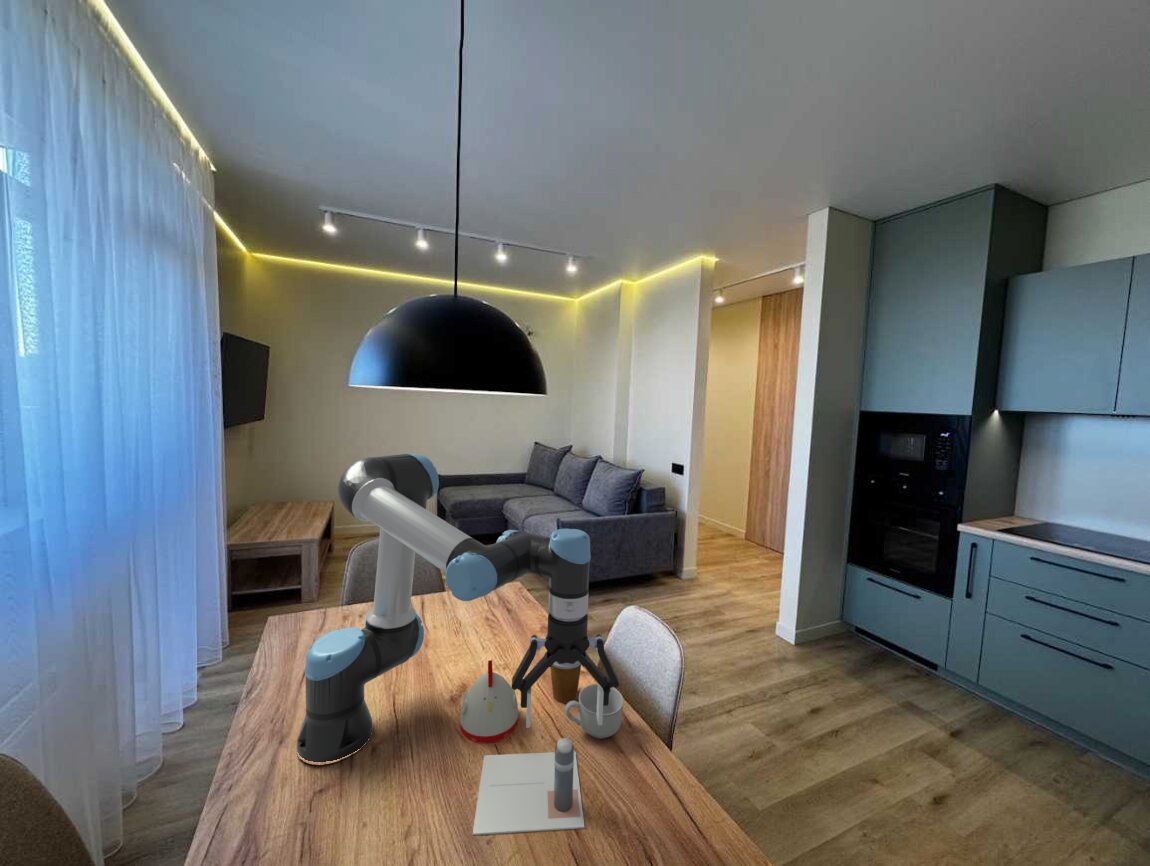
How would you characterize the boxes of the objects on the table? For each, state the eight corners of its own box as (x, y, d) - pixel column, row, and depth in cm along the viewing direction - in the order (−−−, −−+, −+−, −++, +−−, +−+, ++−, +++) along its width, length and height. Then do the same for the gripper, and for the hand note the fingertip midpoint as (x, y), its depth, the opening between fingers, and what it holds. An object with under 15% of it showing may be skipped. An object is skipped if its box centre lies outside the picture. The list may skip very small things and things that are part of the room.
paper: (472, 835, 79) (472, 833, 79) (484, 756, 97) (484, 755, 97) (584, 828, 81) (584, 826, 81) (575, 752, 99) (575, 751, 99)
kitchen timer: (458, 747, 100) (459, 682, 99) (461, 706, 113) (461, 649, 112) (520, 738, 103) (521, 675, 102) (515, 700, 116) (516, 644, 115)
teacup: (619, 714, 112) (620, 683, 111) (625, 746, 101) (626, 712, 101) (564, 714, 111) (564, 683, 111) (564, 746, 100) (565, 712, 100)
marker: (553, 812, 83) (555, 751, 83) (553, 795, 87) (554, 736, 87) (573, 811, 84) (575, 750, 83) (572, 794, 87) (573, 735, 87)
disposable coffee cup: (579, 709, 113) (580, 664, 112) (542, 704, 115) (543, 659, 114) (585, 687, 122) (586, 644, 122) (552, 682, 124) (552, 640, 124)
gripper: (499, 623, 79) (496, 737, 80) (637, 622, 81) (632, 733, 82) (502, 604, 86) (499, 709, 87) (628, 604, 89) (624, 706, 90)
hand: (564, 721), depth 85 cm, fingers open, 13 cm apart
